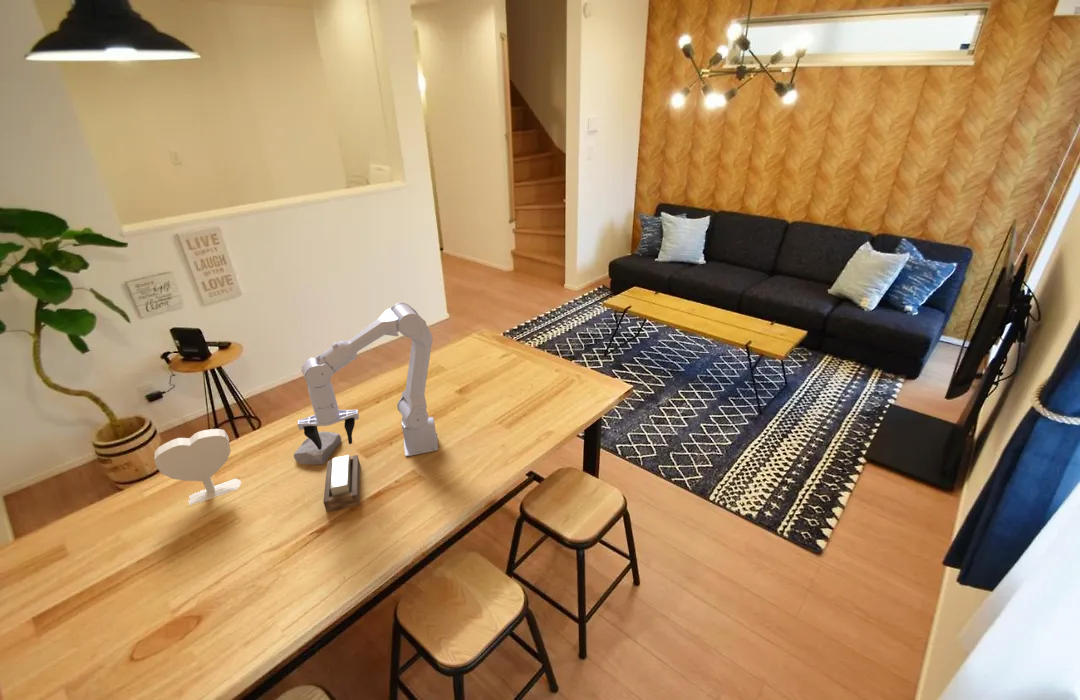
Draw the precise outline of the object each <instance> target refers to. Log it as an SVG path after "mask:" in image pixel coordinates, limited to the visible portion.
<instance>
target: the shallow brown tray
mask: <svg viewBox="0 0 1080 700" xmlns="http://www.w3.org/2000/svg"><path fill="white" fill-rule="evenodd" d="M349 459H350V463H351V466H352V475H351V493H347V494H342V495H337V496H332V492H331V489H330V486H331V475H332V464H333V459H331V460H327V463H326V464H327V465H326V473H325V474H326V475H325V483H324V484H325V485H324V492H323V493H324V494H323V506H324V508H325V513H329V512H334V511H339V510H343V509H347V508H351V507H356V506H360V503H361V501H360V499H361V495H360V494H361V490H360V489H361V462H360V459H359V454H356V455H352V456H351V455H349Z"/></svg>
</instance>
